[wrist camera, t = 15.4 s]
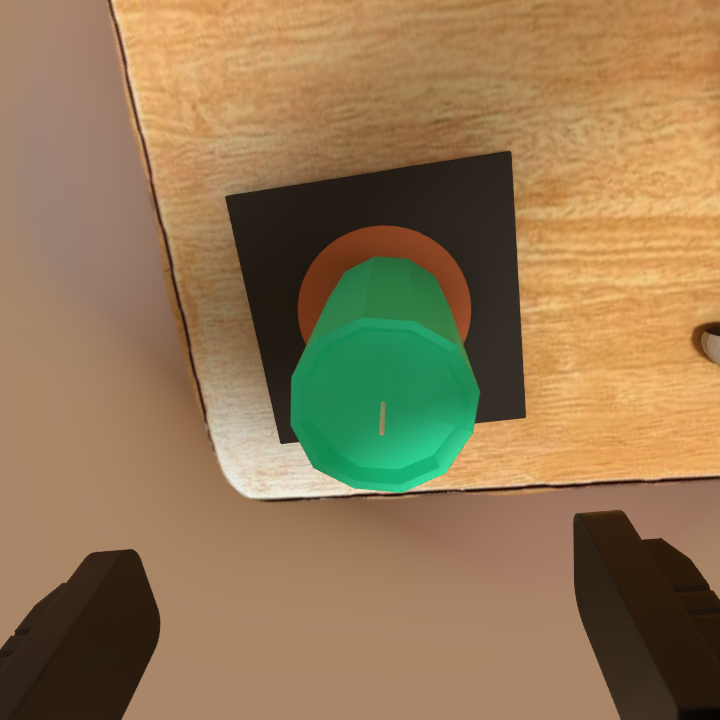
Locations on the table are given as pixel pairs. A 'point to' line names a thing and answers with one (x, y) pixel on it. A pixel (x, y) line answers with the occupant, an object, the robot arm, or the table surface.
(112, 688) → the robot arm
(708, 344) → the game controller
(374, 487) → the candle
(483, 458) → the table surface
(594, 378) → the table surface
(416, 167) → the mat
